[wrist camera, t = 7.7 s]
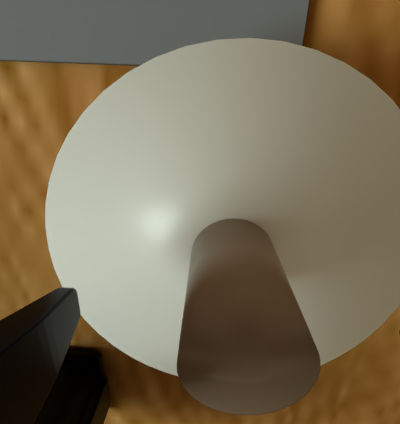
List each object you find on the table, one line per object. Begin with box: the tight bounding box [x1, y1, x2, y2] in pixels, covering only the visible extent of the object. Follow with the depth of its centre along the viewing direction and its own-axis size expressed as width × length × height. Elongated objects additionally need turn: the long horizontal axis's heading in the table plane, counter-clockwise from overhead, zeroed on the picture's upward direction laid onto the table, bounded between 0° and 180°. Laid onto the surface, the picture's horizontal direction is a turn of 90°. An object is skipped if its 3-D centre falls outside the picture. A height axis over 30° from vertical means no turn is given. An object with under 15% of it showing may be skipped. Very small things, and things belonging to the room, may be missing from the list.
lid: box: [45, 38, 400, 415], centre depth 8 cm, size 14×14×5 cm
